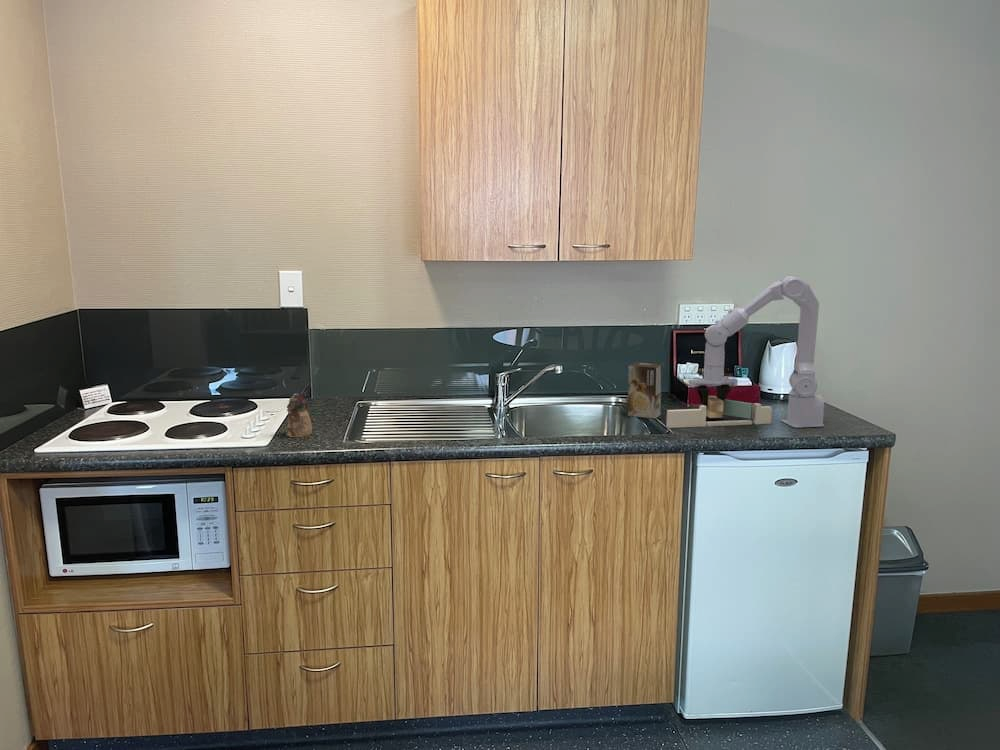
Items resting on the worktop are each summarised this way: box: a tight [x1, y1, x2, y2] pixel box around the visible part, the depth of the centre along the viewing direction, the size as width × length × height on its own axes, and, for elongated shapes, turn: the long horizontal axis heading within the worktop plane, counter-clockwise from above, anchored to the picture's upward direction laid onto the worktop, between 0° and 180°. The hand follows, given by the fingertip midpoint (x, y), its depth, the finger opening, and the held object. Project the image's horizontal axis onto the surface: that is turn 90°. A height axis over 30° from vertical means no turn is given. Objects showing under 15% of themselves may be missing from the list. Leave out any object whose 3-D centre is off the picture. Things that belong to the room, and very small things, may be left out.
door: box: [723, 398, 755, 420], centre depth 236 cm, size 15×1×4 cm, turn 50°
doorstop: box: [706, 395, 724, 419], centre depth 235 cm, size 4×7×5 cm, turn 5°
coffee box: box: [627, 362, 663, 419], centre depth 241 cm, size 9×6×16 cm
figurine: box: [286, 392, 313, 438], centre depth 221 cm, size 7×7×12 cm
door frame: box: [666, 402, 773, 429], centre depth 230 cm, size 32×2×6 cm, turn 98°
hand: (711, 409), depth 235 cm, fingers closed on doorstop, 4 cm apart
